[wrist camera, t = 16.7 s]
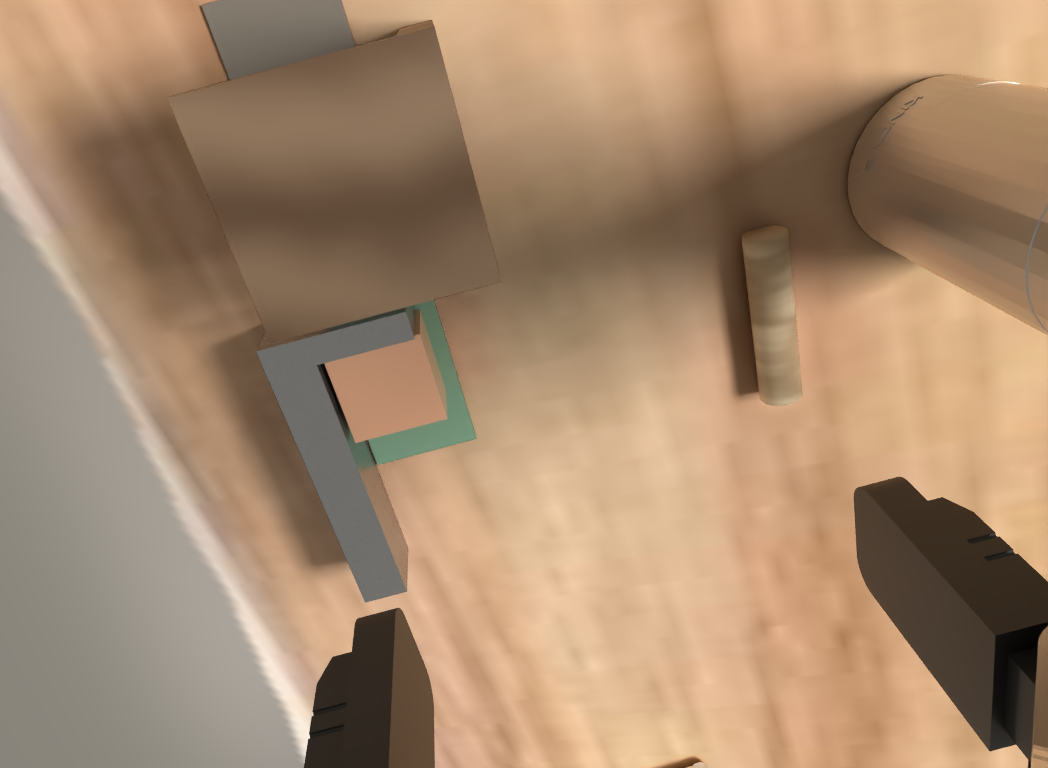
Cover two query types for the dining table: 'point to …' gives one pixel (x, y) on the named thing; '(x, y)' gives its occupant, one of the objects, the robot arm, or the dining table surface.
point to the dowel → (773, 314)
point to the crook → (342, 444)
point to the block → (390, 387)
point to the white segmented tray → (699, 765)
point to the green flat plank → (296, 35)
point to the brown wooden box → (342, 183)
